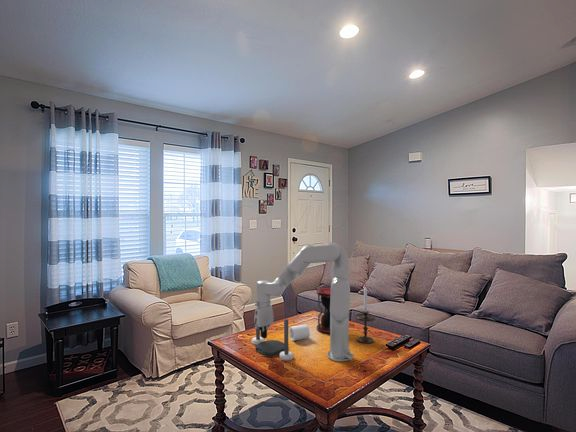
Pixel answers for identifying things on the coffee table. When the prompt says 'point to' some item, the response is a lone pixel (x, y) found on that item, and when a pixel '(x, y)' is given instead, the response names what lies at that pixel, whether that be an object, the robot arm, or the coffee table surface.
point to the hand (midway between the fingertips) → (263, 337)
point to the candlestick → (365, 321)
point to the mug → (299, 332)
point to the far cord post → (257, 338)
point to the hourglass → (325, 319)
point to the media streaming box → (270, 348)
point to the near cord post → (286, 344)
